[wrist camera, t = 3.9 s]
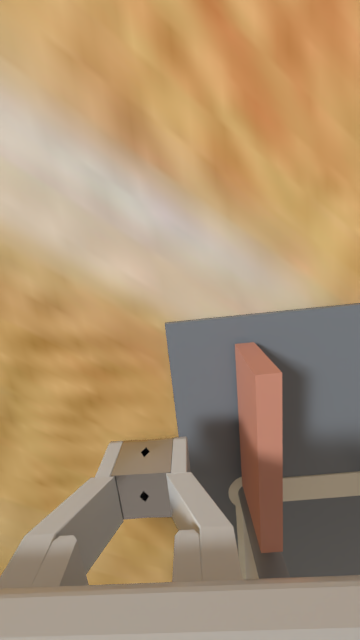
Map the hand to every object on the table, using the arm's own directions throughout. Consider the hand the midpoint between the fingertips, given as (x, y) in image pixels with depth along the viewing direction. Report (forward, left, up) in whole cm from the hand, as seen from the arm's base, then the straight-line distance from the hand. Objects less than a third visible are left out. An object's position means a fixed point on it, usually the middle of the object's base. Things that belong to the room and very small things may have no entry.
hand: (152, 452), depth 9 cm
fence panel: (0, -5, -4) cm, 6 cm away
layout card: (-4, -10, -5) cm, 12 cm away
